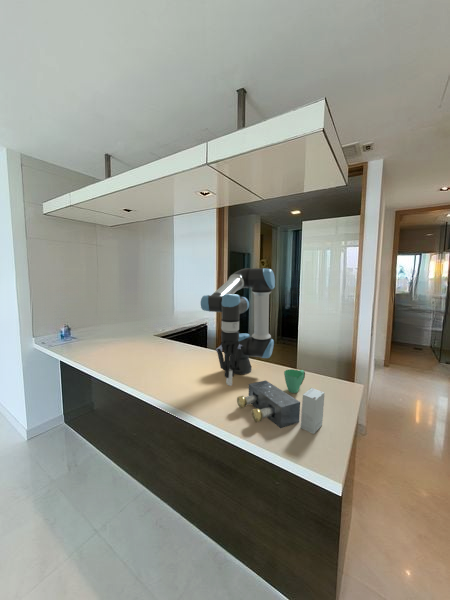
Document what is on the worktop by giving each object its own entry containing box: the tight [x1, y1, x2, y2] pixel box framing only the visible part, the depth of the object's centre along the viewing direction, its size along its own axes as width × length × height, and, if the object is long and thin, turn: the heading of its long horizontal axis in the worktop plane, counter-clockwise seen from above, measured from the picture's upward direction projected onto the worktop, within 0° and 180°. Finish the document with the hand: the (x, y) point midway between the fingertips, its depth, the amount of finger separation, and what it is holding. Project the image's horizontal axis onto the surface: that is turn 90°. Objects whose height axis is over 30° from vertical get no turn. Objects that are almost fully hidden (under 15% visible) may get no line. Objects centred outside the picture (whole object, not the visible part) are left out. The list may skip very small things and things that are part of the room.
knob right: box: [251, 406, 275, 423], centre depth 109 cm, size 5×12×5 cm, turn 118°
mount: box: [248, 380, 301, 429], centre depth 118 cm, size 24×10×9 cm, turn 28°
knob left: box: [236, 394, 259, 409], centre depth 120 cm, size 5×12×5 cm, turn 118°
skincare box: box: [300, 387, 325, 435], centre depth 105 cm, size 8×6×15 cm
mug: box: [283, 368, 306, 394], centre depth 140 cm, size 15×10×10 cm
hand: (229, 384), depth 113 cm, fingers closed
